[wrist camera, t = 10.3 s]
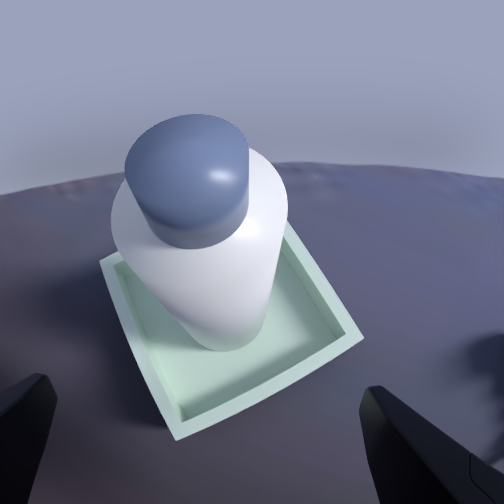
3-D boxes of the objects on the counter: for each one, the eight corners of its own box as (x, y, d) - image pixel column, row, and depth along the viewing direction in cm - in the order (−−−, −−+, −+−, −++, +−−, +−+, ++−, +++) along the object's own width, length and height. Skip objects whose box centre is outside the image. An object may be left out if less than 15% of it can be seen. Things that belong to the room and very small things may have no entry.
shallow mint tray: (190, 431, 19) (175, 440, 15) (122, 284, 23) (99, 260, 19) (342, 349, 21) (364, 338, 17) (259, 218, 26) (261, 184, 22)
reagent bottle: (227, 368, 18) (181, 310, 6) (166, 313, 20) (52, 174, 7) (282, 306, 20) (338, 148, 7) (221, 257, 21) (192, 72, 9)
